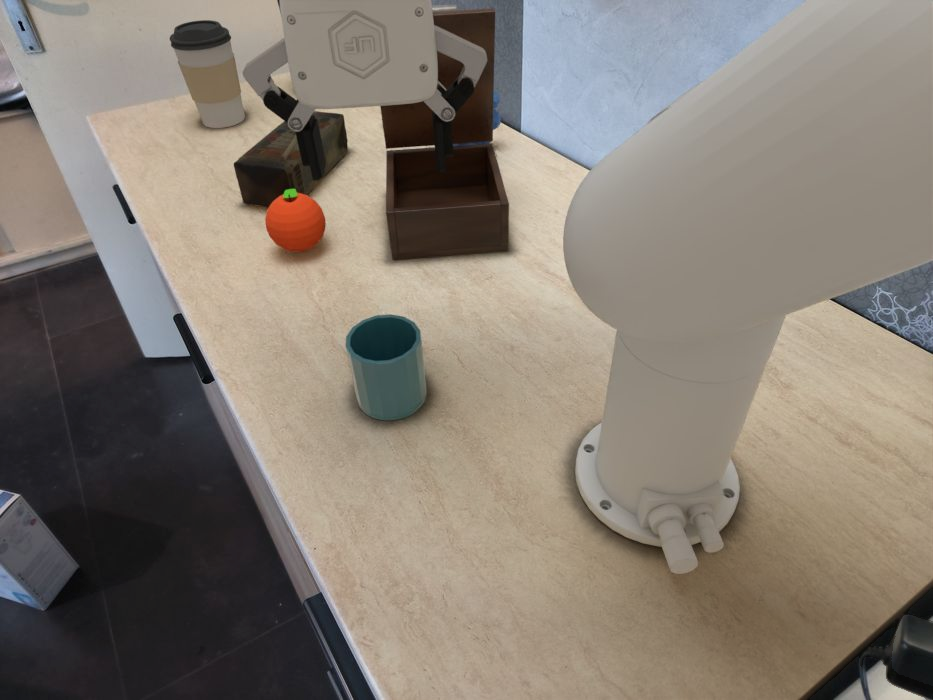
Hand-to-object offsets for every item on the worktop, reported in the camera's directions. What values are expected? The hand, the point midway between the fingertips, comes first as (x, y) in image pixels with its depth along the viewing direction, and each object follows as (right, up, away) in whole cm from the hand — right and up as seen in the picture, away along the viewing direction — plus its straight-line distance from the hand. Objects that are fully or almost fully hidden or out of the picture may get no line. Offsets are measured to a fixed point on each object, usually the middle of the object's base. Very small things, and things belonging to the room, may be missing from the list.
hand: (380, 168), depth 52 cm
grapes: (+8, +14, +45) cm, 48 cm away
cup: (0, -19, +9) cm, 21 cm away
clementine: (-13, -2, +28) cm, 31 cm away
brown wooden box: (+4, +2, +31) cm, 31 cm away
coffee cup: (-34, +24, +58) cm, 71 cm away
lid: (+3, +17, +25) cm, 31 cm away
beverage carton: (-17, +10, +41) cm, 46 cm away
